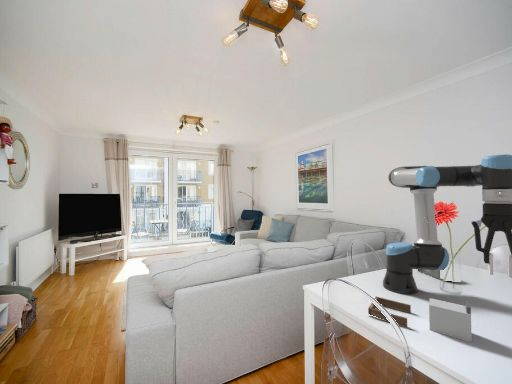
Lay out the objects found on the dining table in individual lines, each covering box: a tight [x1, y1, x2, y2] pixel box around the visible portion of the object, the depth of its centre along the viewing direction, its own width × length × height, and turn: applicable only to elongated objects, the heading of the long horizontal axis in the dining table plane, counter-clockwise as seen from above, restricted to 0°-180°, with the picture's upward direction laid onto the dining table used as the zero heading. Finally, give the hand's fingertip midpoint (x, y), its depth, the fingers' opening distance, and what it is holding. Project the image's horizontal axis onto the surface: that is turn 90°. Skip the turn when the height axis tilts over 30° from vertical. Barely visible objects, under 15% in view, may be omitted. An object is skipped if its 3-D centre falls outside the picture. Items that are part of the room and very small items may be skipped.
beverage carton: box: [417, 269, 440, 280], centre depth 136 cm, size 8×19×7 cm, turn 9°
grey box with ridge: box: [428, 297, 473, 343], centre depth 81 cm, size 7×11×11 cm, turn 51°
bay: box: [367, 296, 412, 328], centre depth 92 cm, size 14×13×3 cm
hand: (500, 275), depth 73 cm, fingers open, 4 cm apart
